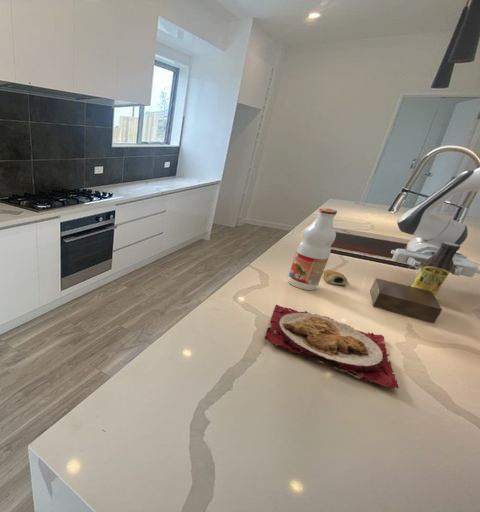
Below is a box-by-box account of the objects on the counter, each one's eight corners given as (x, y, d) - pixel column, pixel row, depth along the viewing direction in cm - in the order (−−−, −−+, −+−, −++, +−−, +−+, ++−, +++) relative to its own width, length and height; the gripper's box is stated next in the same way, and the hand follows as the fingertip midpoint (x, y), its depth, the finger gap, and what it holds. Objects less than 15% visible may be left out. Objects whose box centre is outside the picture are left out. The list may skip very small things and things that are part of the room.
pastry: (317, 273, 118) (321, 264, 117) (337, 276, 117) (340, 267, 115) (327, 283, 110) (331, 274, 109) (348, 287, 108) (352, 278, 107)
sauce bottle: (408, 295, 104) (436, 242, 96) (407, 289, 108) (434, 238, 101) (434, 303, 100) (466, 248, 92) (433, 296, 104) (462, 243, 96)
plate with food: (395, 396, 63) (403, 383, 62) (262, 342, 76) (266, 331, 75) (381, 340, 81) (387, 330, 79) (275, 305, 94) (279, 295, 93)
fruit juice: (319, 293, 103) (349, 214, 92) (287, 286, 107) (313, 210, 96) (314, 282, 111) (342, 208, 100) (285, 276, 115) (309, 204, 104)
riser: (424, 304, 99) (431, 291, 97) (434, 323, 89) (442, 309, 87) (370, 290, 107) (375, 278, 105) (372, 306, 96) (379, 293, 94)
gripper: (393, 242, 114) (398, 252, 104) (473, 256, 103) (487, 269, 93) (386, 257, 117) (390, 268, 106) (463, 272, 105) (476, 287, 95)
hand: (436, 268), depth 99 cm, fingers open, 8 cm apart
